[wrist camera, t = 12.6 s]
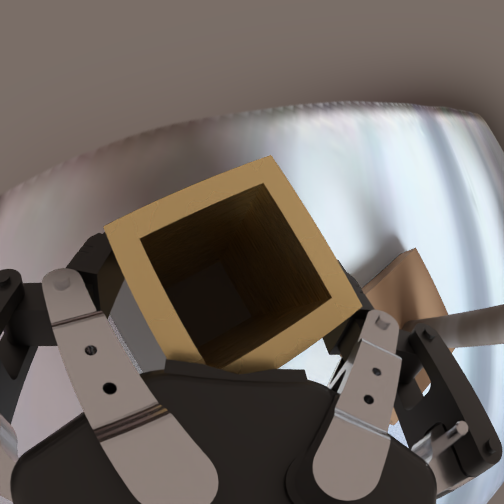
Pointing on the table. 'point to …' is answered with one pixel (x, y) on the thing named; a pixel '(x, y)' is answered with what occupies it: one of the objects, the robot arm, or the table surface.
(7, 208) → the table surface
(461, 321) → the peg stand
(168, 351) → the sleeve
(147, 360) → the mat
